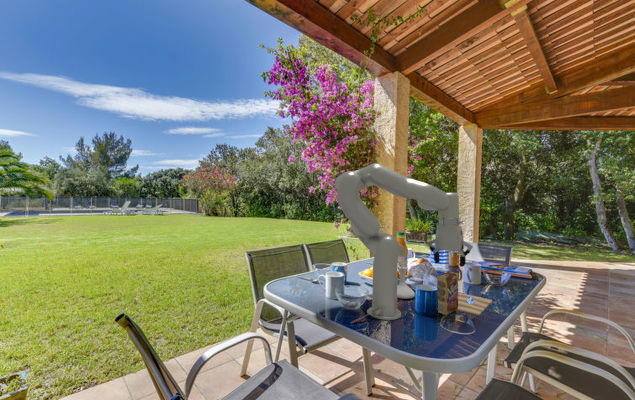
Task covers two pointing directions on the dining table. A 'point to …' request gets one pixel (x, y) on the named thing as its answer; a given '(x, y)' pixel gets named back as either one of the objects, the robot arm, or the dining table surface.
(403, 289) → the flower in vase
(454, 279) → the candy box
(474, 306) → the striped wooden board
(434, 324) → the dining table surface
